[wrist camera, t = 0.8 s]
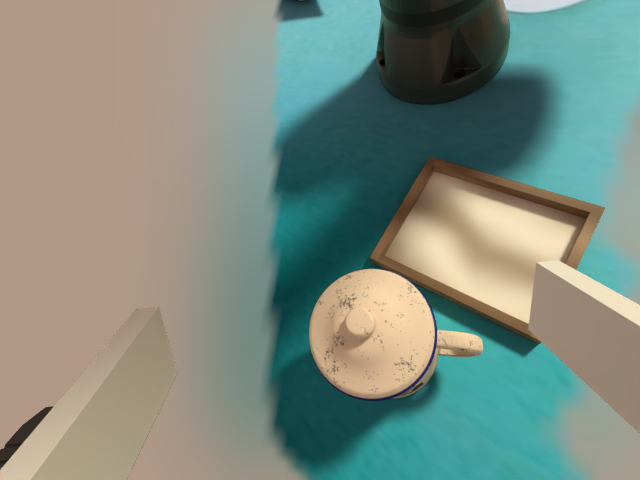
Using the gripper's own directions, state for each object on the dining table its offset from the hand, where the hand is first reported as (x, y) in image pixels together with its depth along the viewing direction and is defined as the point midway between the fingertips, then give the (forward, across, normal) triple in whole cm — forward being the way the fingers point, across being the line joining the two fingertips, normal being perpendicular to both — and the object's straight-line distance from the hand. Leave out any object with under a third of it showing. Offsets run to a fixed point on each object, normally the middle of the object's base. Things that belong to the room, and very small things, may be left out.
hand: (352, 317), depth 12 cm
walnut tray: (+20, +14, -6) cm, 25 cm away
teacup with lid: (+15, +6, -14) cm, 21 cm away
